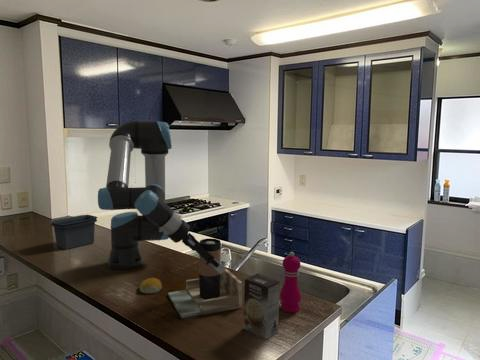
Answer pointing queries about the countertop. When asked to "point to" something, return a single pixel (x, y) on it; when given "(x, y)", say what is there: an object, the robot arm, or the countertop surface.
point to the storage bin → (74, 231)
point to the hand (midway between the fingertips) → (216, 264)
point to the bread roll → (150, 285)
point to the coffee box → (261, 305)
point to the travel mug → (209, 270)
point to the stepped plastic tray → (194, 305)
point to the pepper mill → (290, 284)
